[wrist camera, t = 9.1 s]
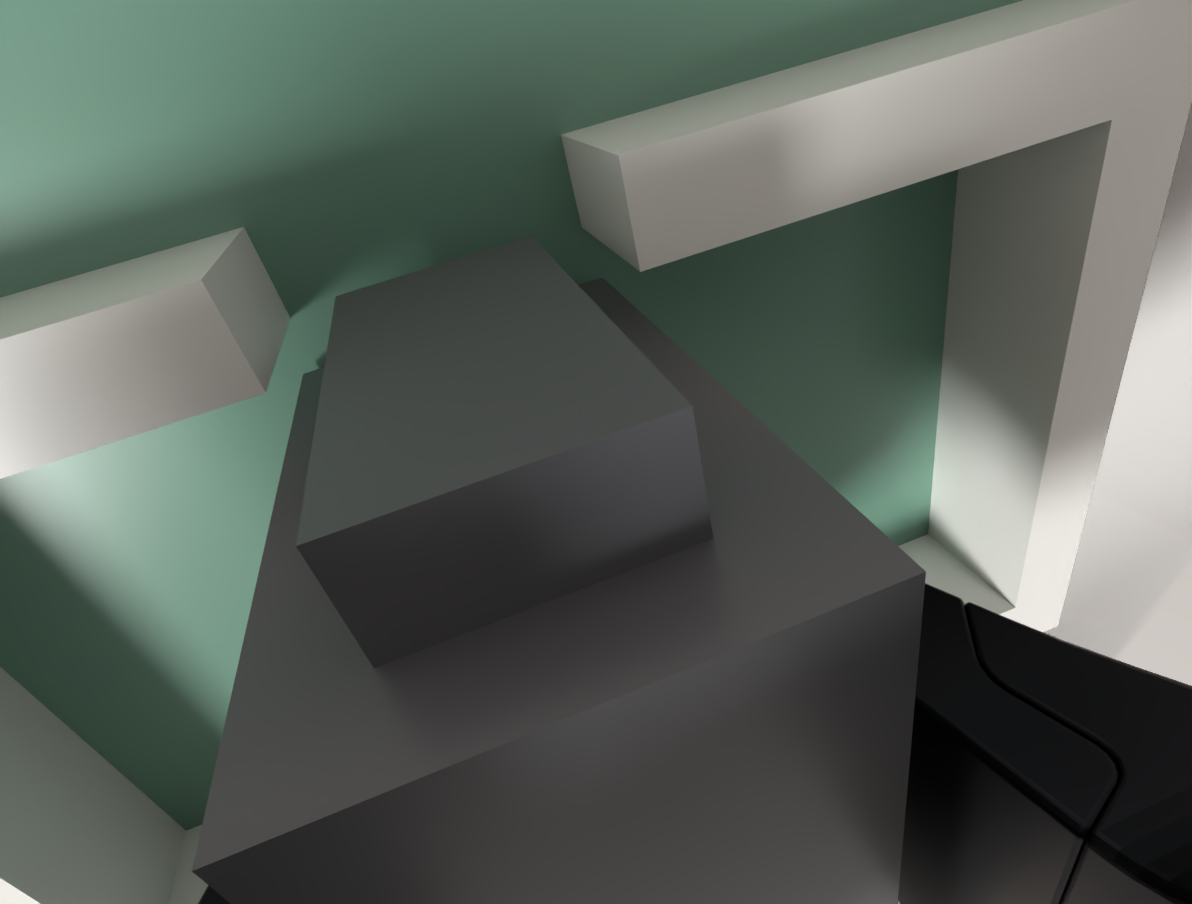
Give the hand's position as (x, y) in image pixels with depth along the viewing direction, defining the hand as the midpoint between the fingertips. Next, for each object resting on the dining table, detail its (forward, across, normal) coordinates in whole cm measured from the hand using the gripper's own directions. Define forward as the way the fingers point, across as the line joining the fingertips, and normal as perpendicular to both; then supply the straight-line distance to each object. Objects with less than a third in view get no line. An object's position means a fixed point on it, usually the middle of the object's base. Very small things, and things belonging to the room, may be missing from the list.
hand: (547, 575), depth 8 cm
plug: (+1, 0, 0) cm, 1 cm away
